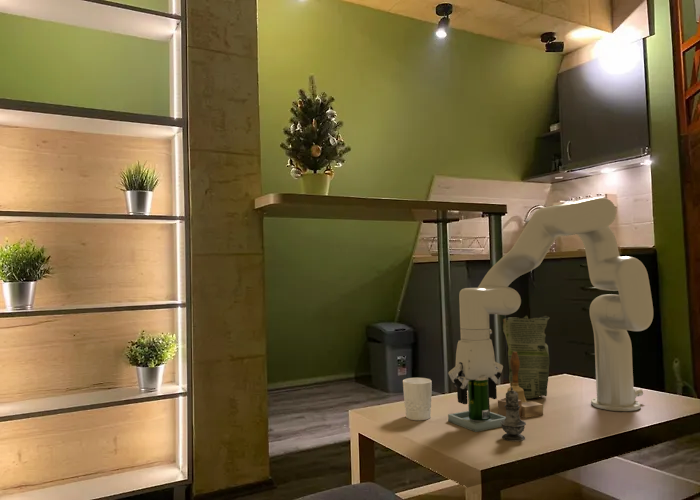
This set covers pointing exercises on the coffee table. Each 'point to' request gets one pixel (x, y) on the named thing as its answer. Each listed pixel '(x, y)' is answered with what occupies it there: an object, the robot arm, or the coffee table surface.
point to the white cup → (417, 398)
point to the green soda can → (479, 399)
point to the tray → (465, 422)
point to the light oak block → (532, 409)
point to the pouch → (529, 353)
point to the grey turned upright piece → (512, 418)
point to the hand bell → (516, 377)
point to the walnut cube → (503, 410)
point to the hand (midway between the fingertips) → (477, 400)
